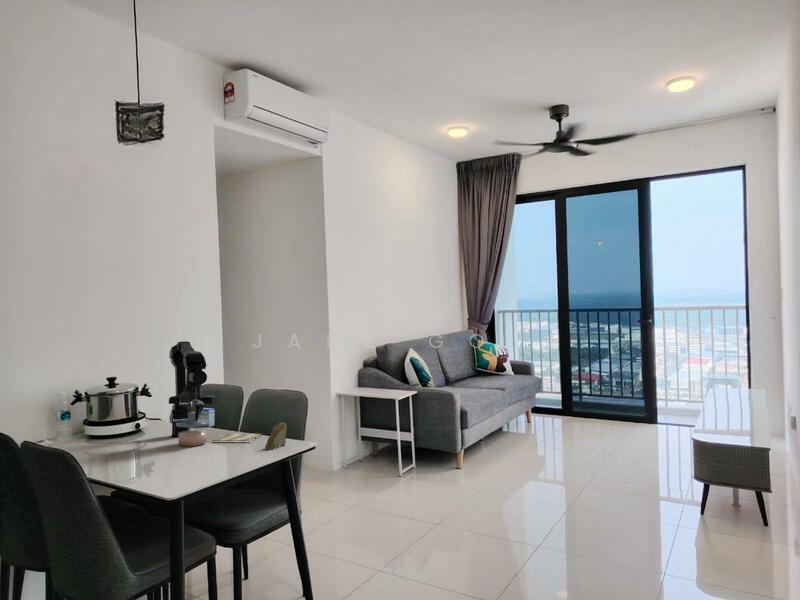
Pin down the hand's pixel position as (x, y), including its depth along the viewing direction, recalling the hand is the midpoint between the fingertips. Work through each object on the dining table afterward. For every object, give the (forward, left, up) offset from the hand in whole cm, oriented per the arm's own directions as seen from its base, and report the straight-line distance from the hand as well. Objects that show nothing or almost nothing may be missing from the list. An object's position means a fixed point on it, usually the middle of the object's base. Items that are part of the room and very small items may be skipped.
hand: (193, 420), depth 223 cm
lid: (0, 0, -2) cm, 2 cm away
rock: (+36, -3, -10) cm, 37 cm away
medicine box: (-14, +42, -10) cm, 45 cm away
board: (+15, +11, -10) cm, 21 cm away
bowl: (0, 0, -10) cm, 10 cm away
